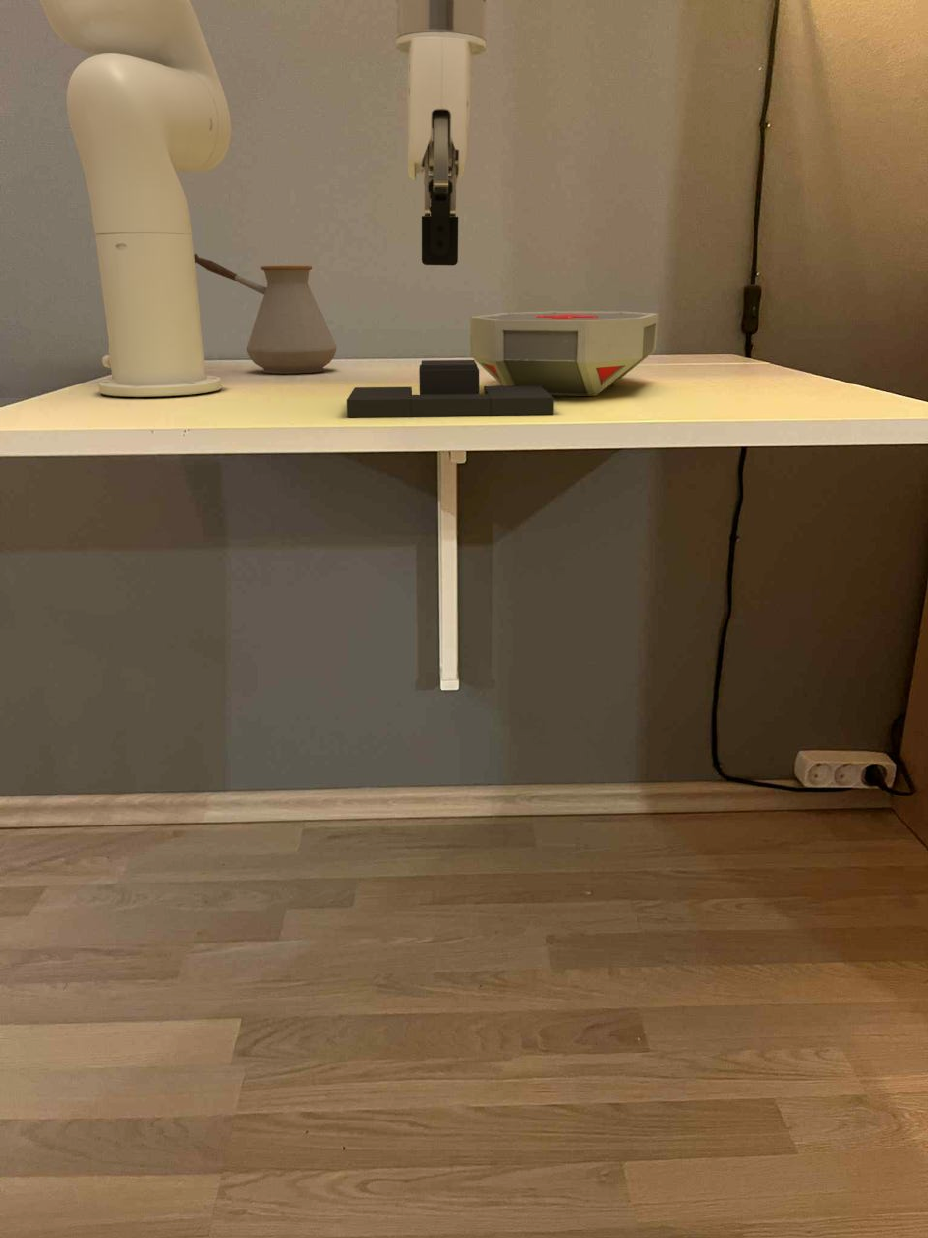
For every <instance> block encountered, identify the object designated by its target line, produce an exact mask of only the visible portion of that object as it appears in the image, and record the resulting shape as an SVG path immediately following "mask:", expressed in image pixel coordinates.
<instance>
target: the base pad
mask: <svg viewBox="0 0 928 1238" xmlns="http://www.w3.org/2000/svg"><path fill="white" fill-rule="evenodd" d="M483 389H484V390H483V393H479V394H435V395H420V394H413V386H355V387H353V390H352V391H351V393H350V394H349V395H348V397H347V398H346V417H347V418H394V417H395V418H396V417H397V418H399V417H468V416H469V417H471V416H472V417H477V416H479V417H480V416H483V417H484V416H485V417H486V416H541V415H542V416H545V415H546V416H549V415H550V416H551V415H552V416H553V415H554V407H555V406H554V403H555V398H554V397H555V396H553V395H550V394H549V393H548V392H547V391H546V390H545V389H544V388H543V387H542V386H541V385H509V386H502V385H484V388H483Z"/></svg>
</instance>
